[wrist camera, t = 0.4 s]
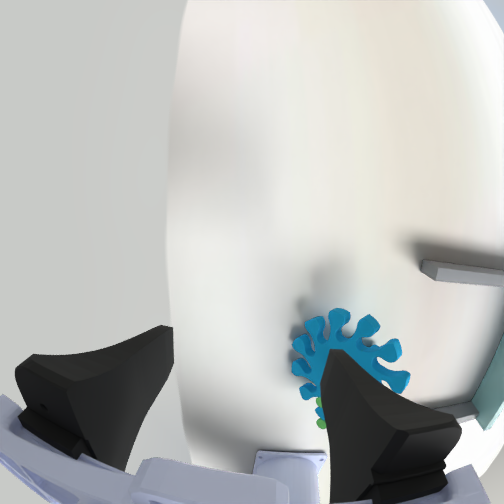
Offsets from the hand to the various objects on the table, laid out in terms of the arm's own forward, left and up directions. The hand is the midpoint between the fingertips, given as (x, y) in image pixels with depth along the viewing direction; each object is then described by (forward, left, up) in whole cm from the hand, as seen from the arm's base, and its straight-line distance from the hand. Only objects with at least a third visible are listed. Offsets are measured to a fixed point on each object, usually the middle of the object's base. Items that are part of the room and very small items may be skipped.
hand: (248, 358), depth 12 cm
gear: (-5, -7, -10) cm, 13 cm away
